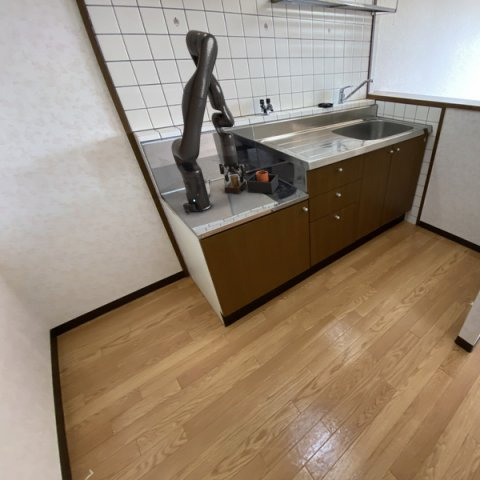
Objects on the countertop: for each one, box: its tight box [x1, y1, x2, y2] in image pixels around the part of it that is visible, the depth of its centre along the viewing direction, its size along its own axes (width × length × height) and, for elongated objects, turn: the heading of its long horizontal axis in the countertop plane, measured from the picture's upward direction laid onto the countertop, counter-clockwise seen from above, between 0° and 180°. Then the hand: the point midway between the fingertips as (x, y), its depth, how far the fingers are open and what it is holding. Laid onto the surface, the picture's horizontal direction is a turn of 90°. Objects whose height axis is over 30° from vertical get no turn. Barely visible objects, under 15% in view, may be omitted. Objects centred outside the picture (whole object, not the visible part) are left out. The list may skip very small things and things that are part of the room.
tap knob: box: [229, 174, 239, 185], centre depth 152 cm, size 4×4×5 cm
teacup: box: [204, 178, 212, 196], centre depth 146 cm, size 14×11×8 cm
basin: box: [245, 172, 280, 195], centre depth 153 cm, size 12×14×6 cm
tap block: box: [224, 179, 247, 194], centre depth 154 cm, size 11×8×3 cm
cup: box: [255, 170, 269, 182], centre depth 152 cm, size 6×6×9 cm
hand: (234, 182), depth 152 cm, fingers open, 8 cm apart
